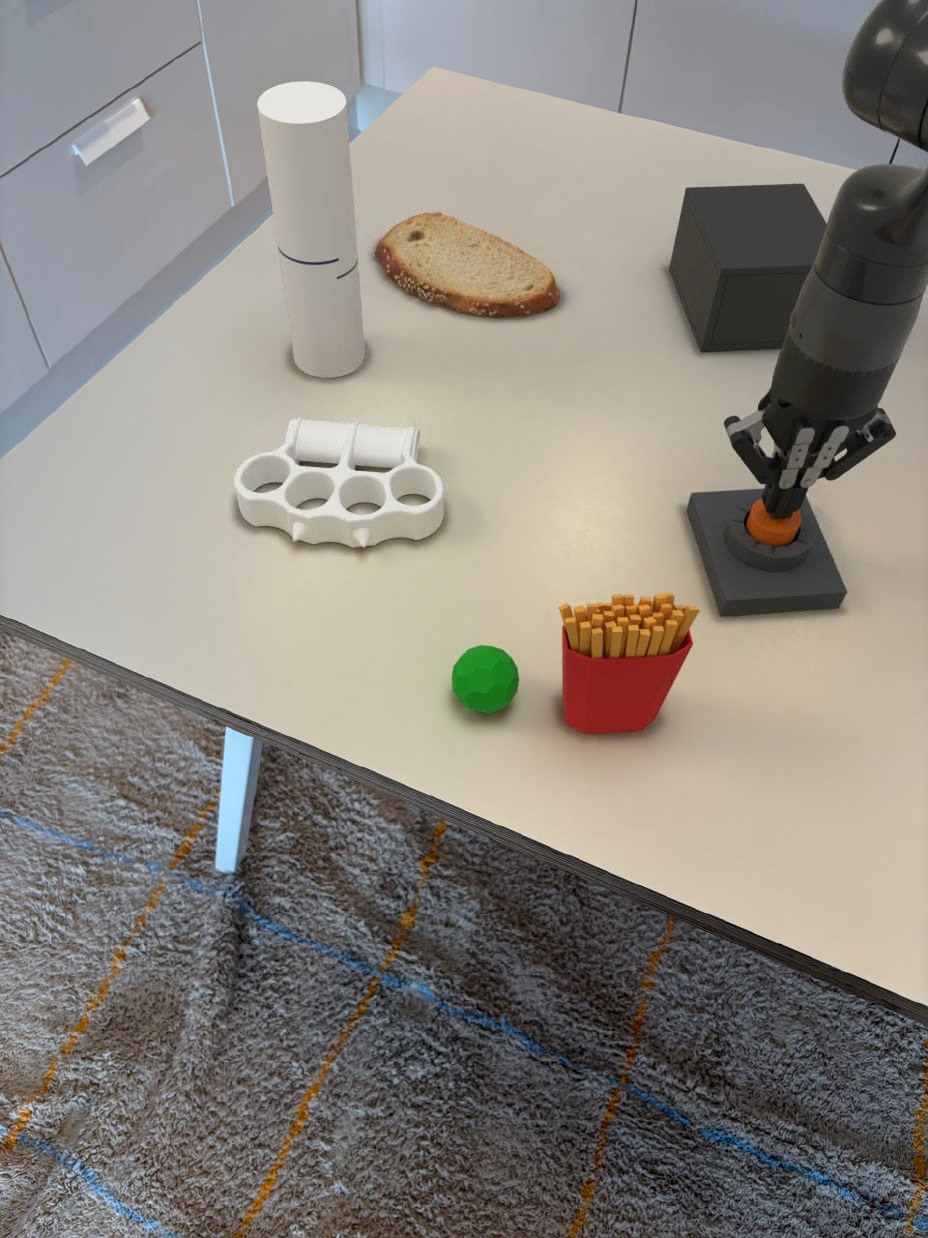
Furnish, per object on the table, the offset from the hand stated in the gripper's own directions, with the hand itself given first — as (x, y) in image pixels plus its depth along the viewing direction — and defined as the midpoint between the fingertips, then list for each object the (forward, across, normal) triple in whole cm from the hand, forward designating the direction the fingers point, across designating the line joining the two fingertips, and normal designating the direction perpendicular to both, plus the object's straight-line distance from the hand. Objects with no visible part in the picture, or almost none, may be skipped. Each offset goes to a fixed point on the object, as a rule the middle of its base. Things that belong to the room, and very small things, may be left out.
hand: (777, 511), depth 80 cm
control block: (+6, 0, 0) cm, 6 cm away
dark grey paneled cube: (+6, +8, +35) cm, 36 cm away
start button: (+2, 0, 0) cm, 2 cm away
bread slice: (+6, -21, +43) cm, 48 cm away
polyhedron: (+6, -25, -12) cm, 28 cm away
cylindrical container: (+6, -36, +30) cm, 47 cm away
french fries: (+6, -16, -14) cm, 22 cm away
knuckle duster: (+6, -35, +10) cm, 37 cm away
